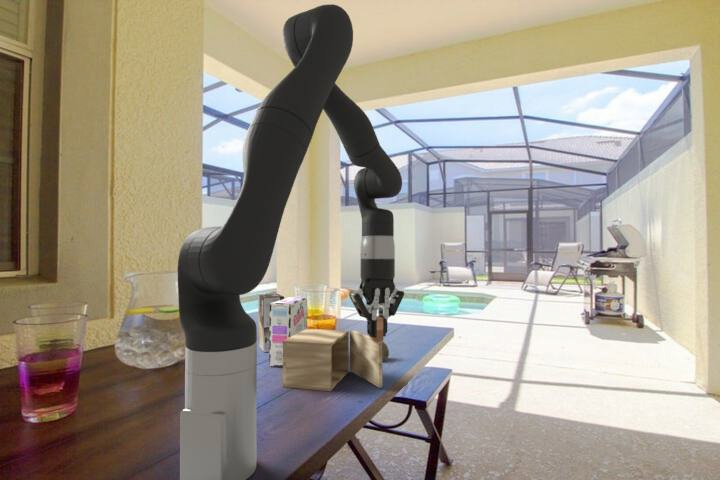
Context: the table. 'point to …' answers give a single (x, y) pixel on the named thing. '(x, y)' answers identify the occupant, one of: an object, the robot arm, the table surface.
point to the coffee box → (265, 318)
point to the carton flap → (367, 354)
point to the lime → (384, 351)
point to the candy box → (285, 325)
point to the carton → (315, 359)
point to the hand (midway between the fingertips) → (377, 336)
